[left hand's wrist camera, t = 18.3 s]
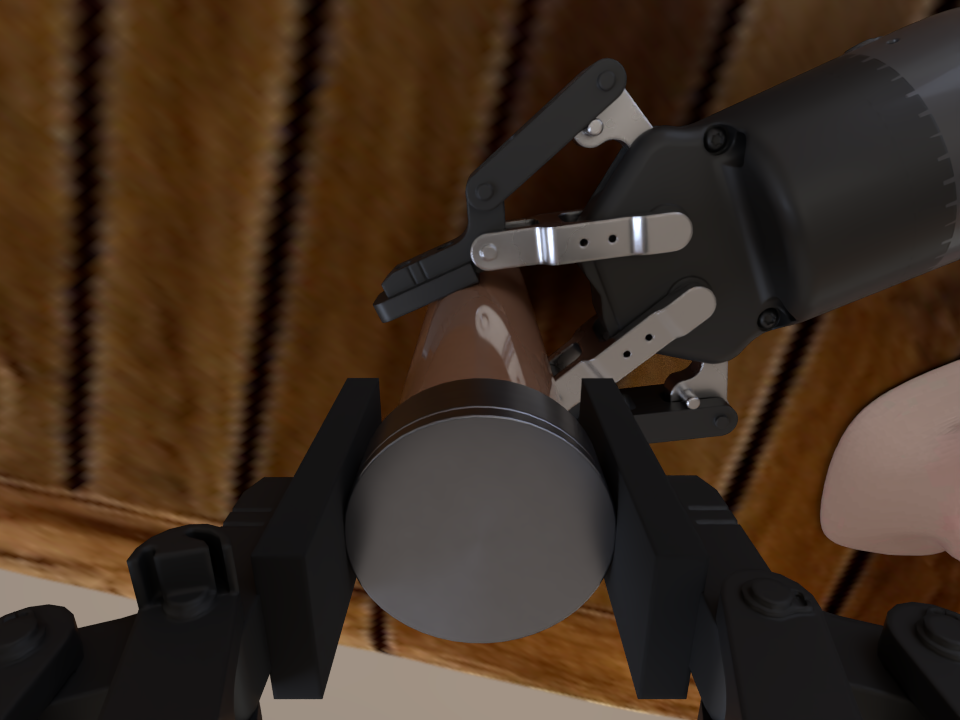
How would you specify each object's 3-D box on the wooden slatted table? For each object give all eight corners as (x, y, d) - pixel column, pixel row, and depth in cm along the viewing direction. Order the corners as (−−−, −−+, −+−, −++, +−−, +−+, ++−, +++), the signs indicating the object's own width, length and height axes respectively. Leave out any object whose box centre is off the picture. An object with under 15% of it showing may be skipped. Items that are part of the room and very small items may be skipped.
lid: (649, 479, 12) (674, 530, 11) (487, 619, 14) (488, 683, 12) (470, 326, 11) (469, 358, 10) (312, 495, 12) (287, 547, 11)
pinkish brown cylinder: (434, 245, 27) (365, 411, 11) (527, 247, 27) (599, 415, 11) (435, 334, 28) (376, 596, 12) (523, 335, 29) (580, 600, 12)
